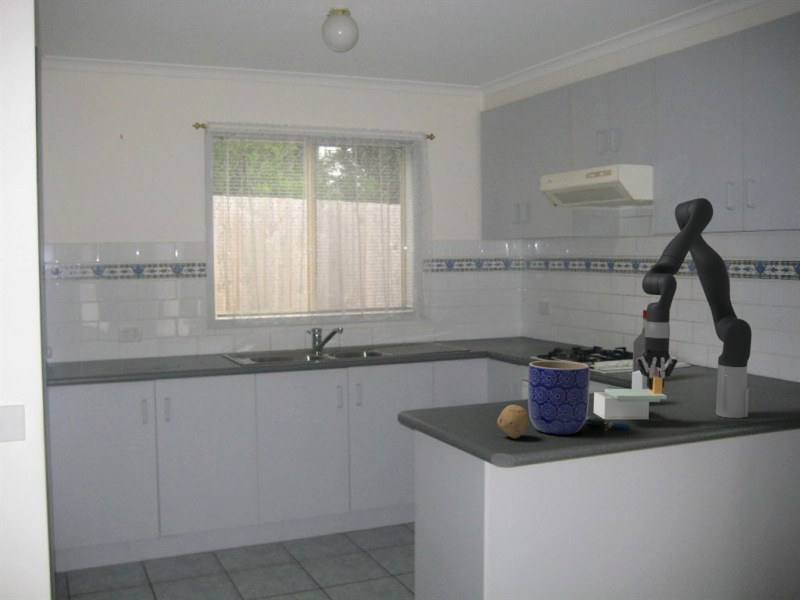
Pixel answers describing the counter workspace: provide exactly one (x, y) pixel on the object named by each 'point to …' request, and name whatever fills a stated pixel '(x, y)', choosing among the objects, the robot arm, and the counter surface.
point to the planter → (558, 396)
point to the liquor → (641, 347)
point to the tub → (619, 408)
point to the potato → (513, 421)
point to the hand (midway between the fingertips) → (655, 389)
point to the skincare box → (639, 380)
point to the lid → (639, 393)
